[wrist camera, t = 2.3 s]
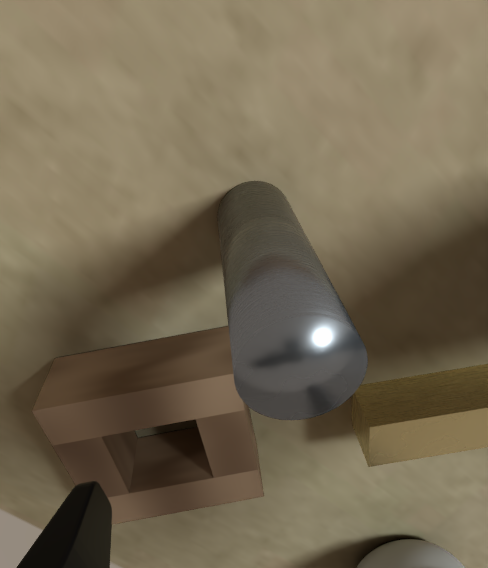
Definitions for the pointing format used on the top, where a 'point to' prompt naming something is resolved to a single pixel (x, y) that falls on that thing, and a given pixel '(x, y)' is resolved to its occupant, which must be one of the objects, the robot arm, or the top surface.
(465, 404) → the square bit
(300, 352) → the cylinder
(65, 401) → the socket block
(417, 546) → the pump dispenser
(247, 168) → the top surface
